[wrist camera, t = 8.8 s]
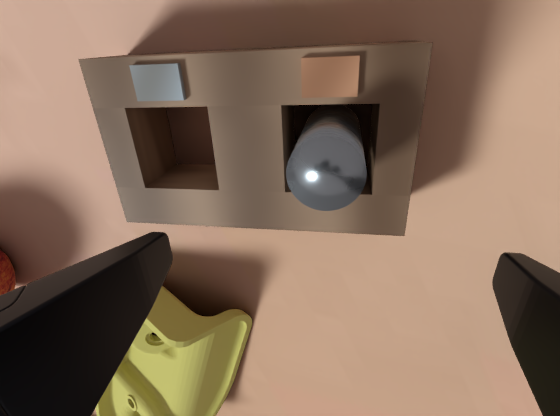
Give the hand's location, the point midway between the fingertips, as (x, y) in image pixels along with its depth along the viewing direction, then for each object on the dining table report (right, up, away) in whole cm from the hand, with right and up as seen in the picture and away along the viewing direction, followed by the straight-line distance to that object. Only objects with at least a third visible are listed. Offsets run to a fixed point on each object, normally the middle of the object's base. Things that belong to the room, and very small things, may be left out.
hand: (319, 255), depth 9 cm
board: (-2, +6, +11) cm, 13 cm away
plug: (+2, +6, +10) cm, 12 cm away
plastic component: (-11, -12, +23) cm, 28 cm away
